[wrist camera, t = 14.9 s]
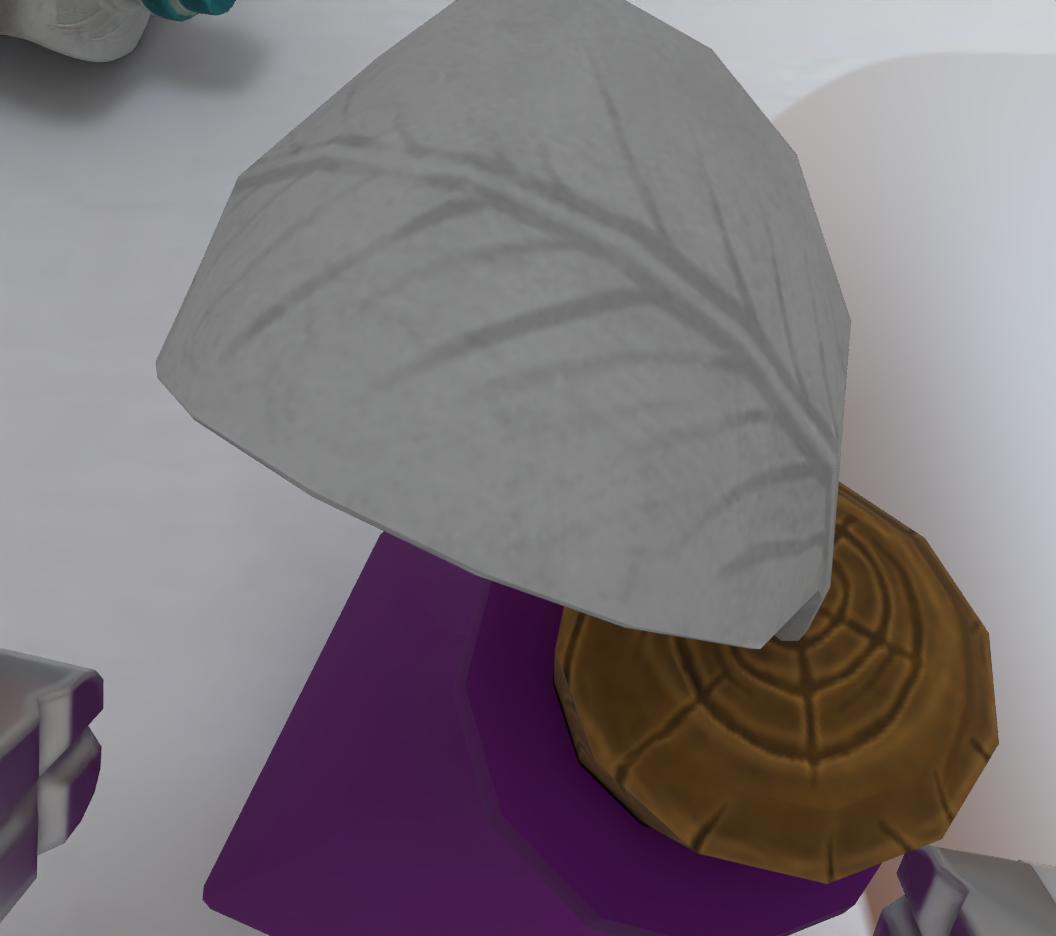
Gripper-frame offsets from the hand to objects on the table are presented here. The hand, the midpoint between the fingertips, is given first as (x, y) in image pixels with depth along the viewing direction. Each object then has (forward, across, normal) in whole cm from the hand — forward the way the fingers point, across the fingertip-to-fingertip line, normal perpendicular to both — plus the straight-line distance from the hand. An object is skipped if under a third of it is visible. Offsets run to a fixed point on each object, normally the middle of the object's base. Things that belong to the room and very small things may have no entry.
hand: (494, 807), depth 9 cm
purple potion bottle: (+9, 0, -7) cm, 11 cm away
